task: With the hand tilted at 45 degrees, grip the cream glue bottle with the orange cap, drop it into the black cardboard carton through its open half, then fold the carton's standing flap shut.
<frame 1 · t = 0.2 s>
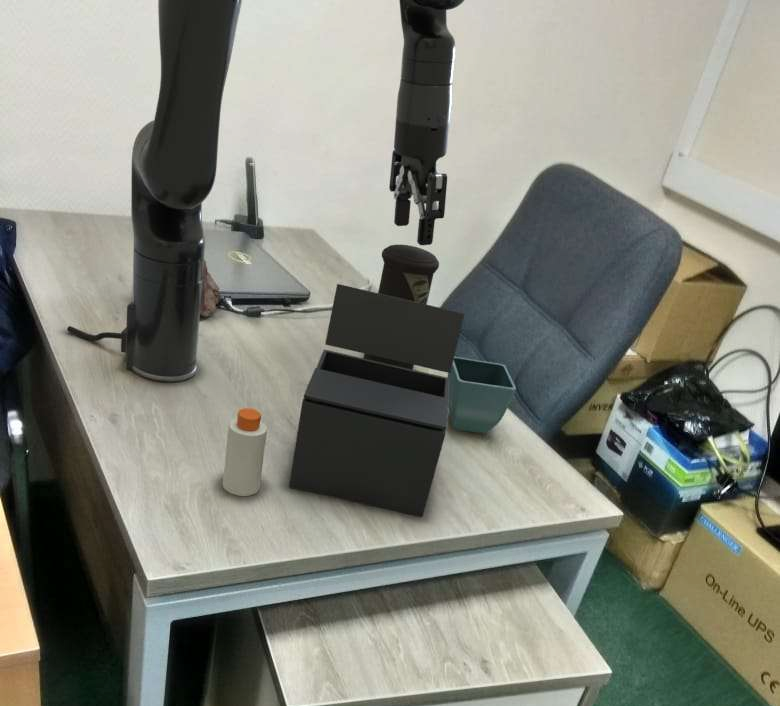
hand: (412, 234, 121), 22 cm above the table, tool pointing down, fingers open, 8 cm apart
carton: (363, 470, 106), on the table
mineral specimen: (173, 306, 138), on the table
flap: (394, 329, 105), point 16 cm above the table, hinge at 110.0°
glue bottle: (241, 486, 98), on the table
flower pot: (466, 425, 124), on the table
container: (386, 369, 135), on the table
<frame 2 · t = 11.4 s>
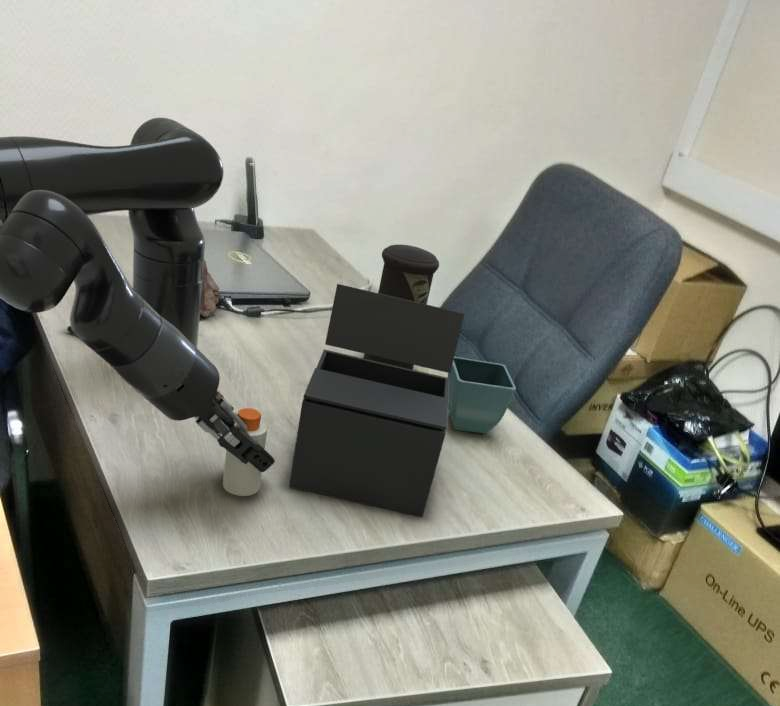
hand: (259, 454, 96), 4 cm above the table, tool tilted 45°, fingers closed on glue bottle, 4 cm apart
glue bottle: (241, 486, 98), on the table, touching gripper
everything else where it was.
when the fingers open (15 cm above the table, at t = 18.3 s): glue bottle drops 9 cm, resting on carton.
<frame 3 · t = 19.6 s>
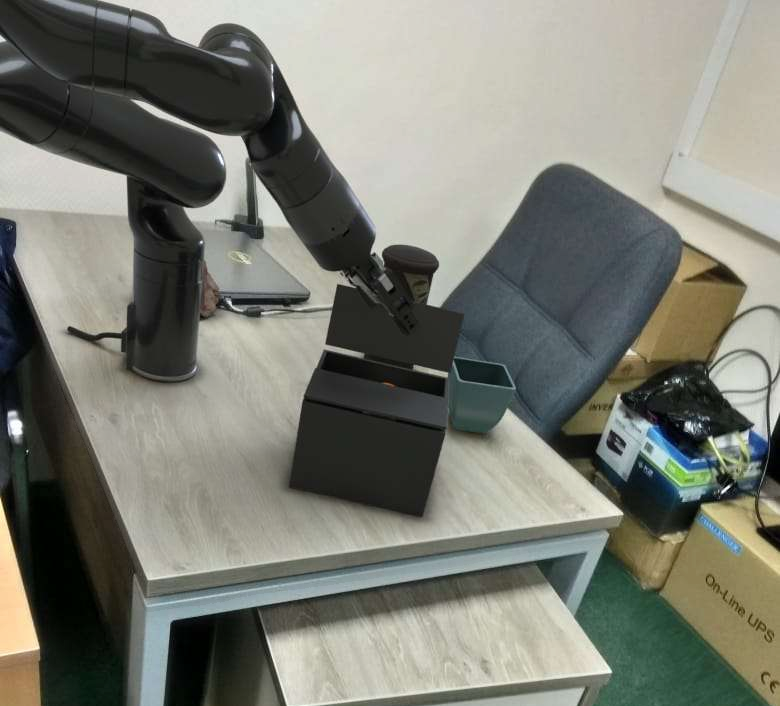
hand: (394, 316, 98), 20 cm above the table, tool tilted 45°, fingers open, 8 cm apart
glue bottle: (366, 450, 109), point 1 cm above the table, tilted 7°, touching carton
everything else where it was.
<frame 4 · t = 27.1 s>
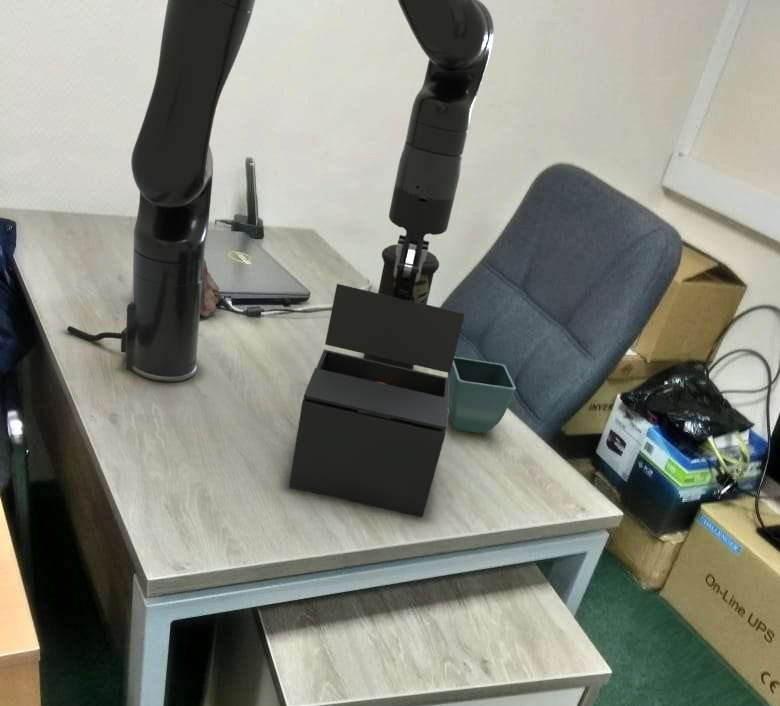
hand: (396, 319, 108), 16 cm above the table, tool pointing down, fingers closed
flap: (394, 329, 105), point 16 cm above the table, hinge at 107.0°, touching gripper
glue bottle: (366, 452, 109), resting on carton
everything else where it was.
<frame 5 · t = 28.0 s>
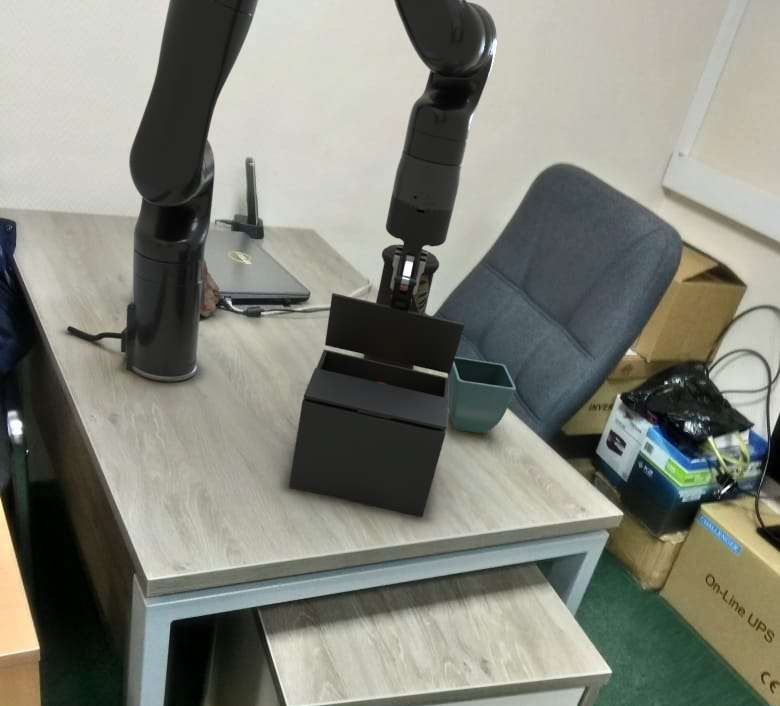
hand: (393, 333, 105), 16 cm above the table, tool pointing down, fingers closed
flap: (393, 334, 103), point 16 cm above the table, hinge at 75.5°, touching gripper
everything else where it was.
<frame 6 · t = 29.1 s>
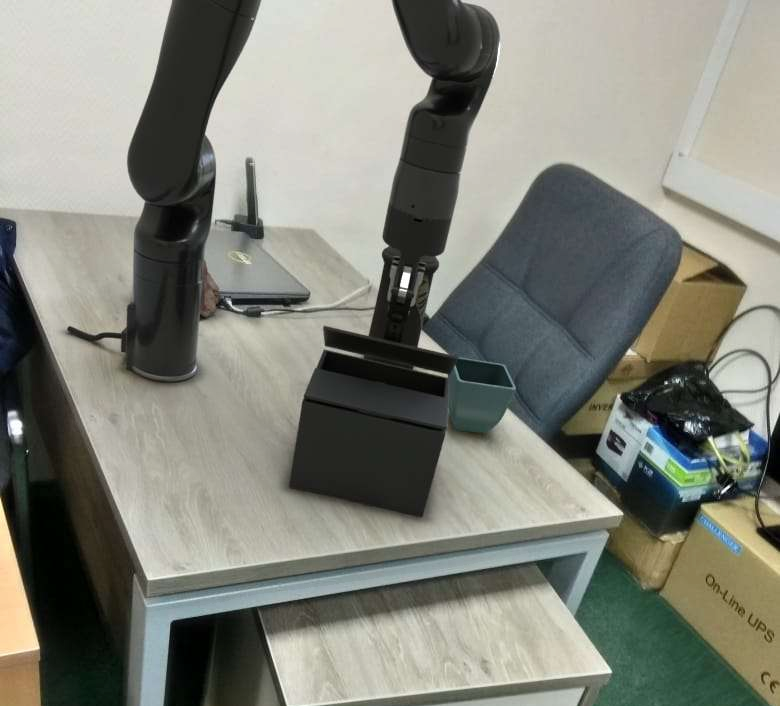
hand: (391, 345, 102), 16 cm above the table, tool pointing down, fingers closed
flap: (389, 351, 102), point 15 cm above the table, hinge at 37.8°, touching gripper
everything else where it was.
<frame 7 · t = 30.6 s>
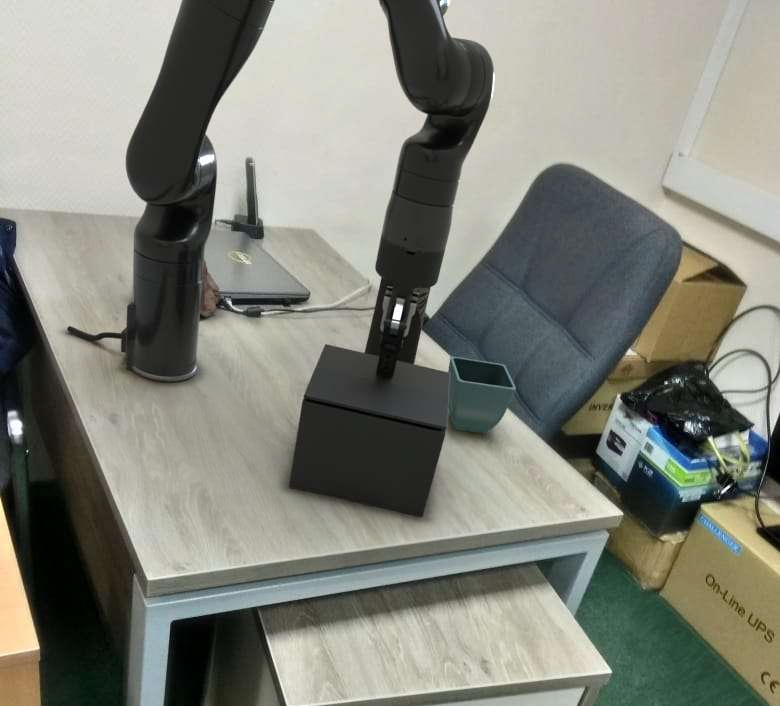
hand: (384, 374, 101), 13 cm above the table, tool pointing down, fingers closed
flap: (384, 371, 103), point 13 cm above the table, hinge at -0.3°, touching gripper
everything else where it was.
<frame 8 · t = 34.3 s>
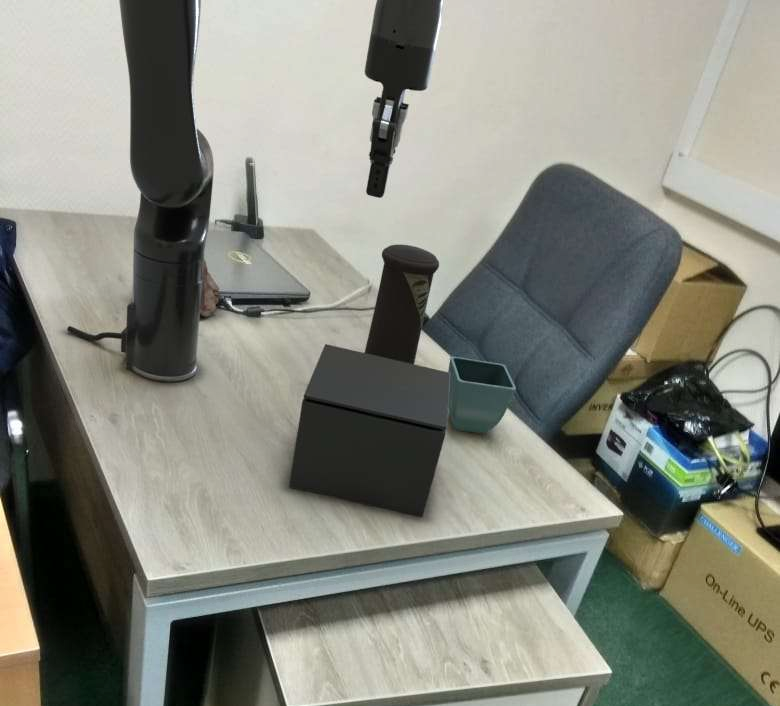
hand: (374, 195, 100), 31 cm above the table, tool pointing down, fingers closed
flap: (384, 371, 103), point 13 cm above the table, hinge at -0.5°
everything else where it was.
at the end: glue bottle inside the target area in the carton (3.9 cm from its centre), point 0.5 cm above the carton's base; flap at +0° (first picture: +110°) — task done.
